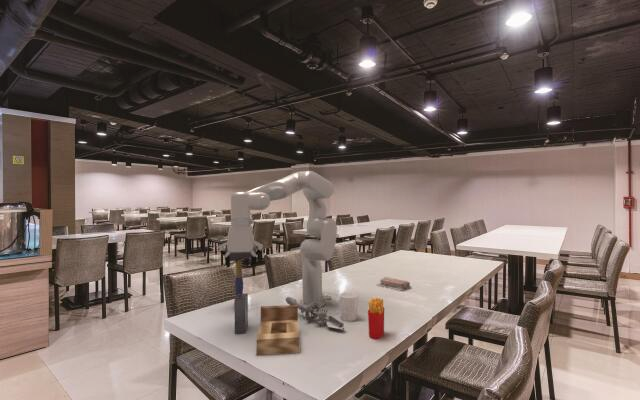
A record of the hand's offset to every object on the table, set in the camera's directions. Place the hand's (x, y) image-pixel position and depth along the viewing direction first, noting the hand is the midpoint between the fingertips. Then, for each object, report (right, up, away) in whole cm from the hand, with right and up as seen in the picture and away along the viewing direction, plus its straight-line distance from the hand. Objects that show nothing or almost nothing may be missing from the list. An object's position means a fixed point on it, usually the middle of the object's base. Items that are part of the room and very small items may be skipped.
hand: (240, 266), depth 124 cm
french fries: (+52, -24, -7) cm, 58 cm away
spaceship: (+28, -25, +8) cm, 38 cm away
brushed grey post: (0, -25, 0) cm, 25 cm away
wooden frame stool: (+17, -24, -12) cm, 32 cm away
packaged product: (+74, -25, +59) cm, 98 cm away
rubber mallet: (-7, -25, +26) cm, 37 cm away
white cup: (+44, -24, +10) cm, 51 cm away
